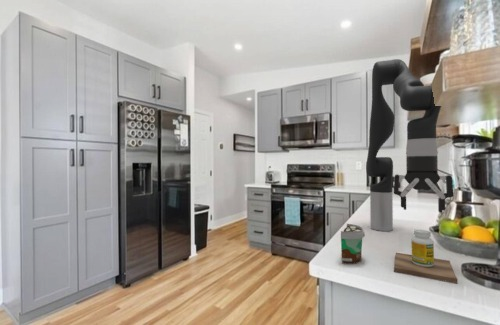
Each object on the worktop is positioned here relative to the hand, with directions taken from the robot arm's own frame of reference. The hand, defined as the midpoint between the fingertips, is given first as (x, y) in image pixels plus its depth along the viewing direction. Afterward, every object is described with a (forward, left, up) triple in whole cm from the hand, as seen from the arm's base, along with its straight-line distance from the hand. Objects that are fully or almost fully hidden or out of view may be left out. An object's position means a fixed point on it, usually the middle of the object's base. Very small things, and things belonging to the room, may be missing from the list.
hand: (421, 210), depth 74 cm
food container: (+3, -18, -17) cm, 25 cm away
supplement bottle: (0, 0, -16) cm, 16 cm away
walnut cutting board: (0, 0, -17) cm, 17 cm away
